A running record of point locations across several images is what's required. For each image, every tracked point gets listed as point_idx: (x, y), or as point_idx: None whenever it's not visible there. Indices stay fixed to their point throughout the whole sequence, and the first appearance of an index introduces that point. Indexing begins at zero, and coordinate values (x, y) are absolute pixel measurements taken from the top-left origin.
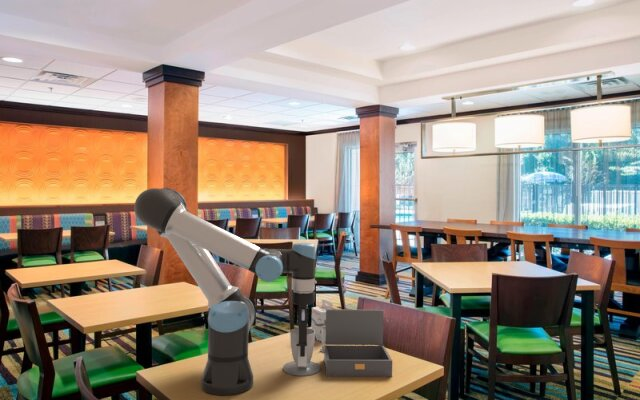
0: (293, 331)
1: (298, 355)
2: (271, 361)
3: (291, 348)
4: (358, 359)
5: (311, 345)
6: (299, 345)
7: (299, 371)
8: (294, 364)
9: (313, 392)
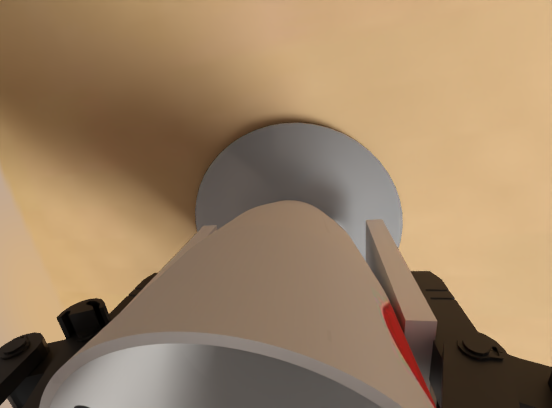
0: (359, 352)
1: (171, 262)
2: (426, 9)
3: (246, 217)
4: None
5: (209, 396)
6: (15, 343)
7: (227, 220)
8: (329, 188)
9: (61, 271)
